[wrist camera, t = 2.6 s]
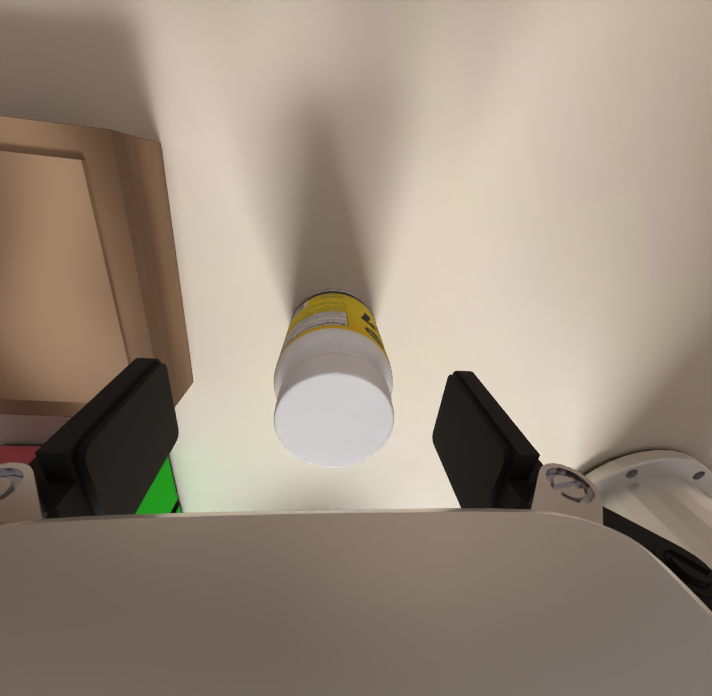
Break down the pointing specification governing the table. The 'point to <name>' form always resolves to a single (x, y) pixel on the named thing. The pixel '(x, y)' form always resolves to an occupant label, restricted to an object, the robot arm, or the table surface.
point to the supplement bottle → (333, 383)
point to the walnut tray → (83, 266)
